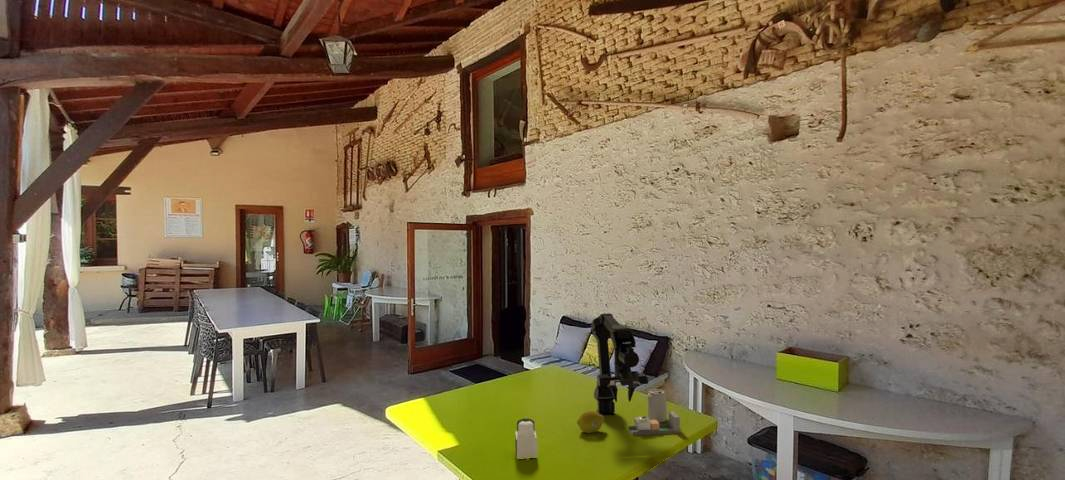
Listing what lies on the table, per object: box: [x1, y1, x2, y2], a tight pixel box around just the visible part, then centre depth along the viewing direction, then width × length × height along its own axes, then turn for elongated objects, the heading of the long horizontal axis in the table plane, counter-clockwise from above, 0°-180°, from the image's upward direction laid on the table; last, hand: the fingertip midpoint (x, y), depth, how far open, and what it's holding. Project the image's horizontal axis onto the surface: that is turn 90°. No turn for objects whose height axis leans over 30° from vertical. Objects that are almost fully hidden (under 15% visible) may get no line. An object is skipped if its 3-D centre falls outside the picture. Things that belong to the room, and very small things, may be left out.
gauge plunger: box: [633, 415, 651, 431], centre depth 182 cm, size 5×4×5 cm
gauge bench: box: [628, 410, 681, 436], centre depth 183 cm, size 18×6×6 cm, turn 94°
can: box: [647, 388, 668, 424], centre depth 194 cm, size 8×8×12 cm
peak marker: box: [650, 420, 660, 430], centre depth 183 cm, size 3×4×4 cm
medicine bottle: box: [514, 418, 538, 459], centre depth 164 cm, size 7×7×12 cm
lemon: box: [576, 410, 605, 434], centre depth 183 cm, size 11×8×8 cm
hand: (622, 401), depth 182 cm, fingers open, 5 cm apart
